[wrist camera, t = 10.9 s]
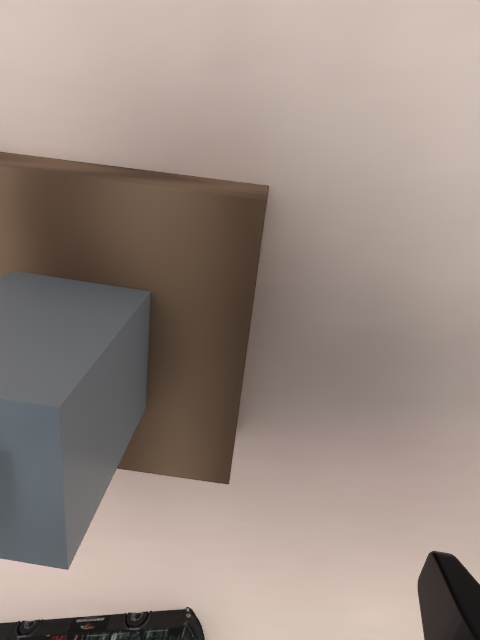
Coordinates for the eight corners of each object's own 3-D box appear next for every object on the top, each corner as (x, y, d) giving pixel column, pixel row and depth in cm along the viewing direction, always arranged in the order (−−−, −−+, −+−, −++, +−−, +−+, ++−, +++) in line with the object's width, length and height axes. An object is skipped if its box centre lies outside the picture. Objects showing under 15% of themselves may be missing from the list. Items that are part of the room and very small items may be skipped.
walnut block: (269, 184, 18) (267, 200, 14) (236, 426, 23) (228, 484, 19) (-24, 147, 18) (-101, 153, 14) (7, 394, 23) (-44, 445, 19)
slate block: (150, 291, 15) (58, 408, 9) (145, 408, 18) (68, 569, 11) (12, 270, 16) (-175, 371, 9) (23, 388, 18) (-123, 537, 11)
